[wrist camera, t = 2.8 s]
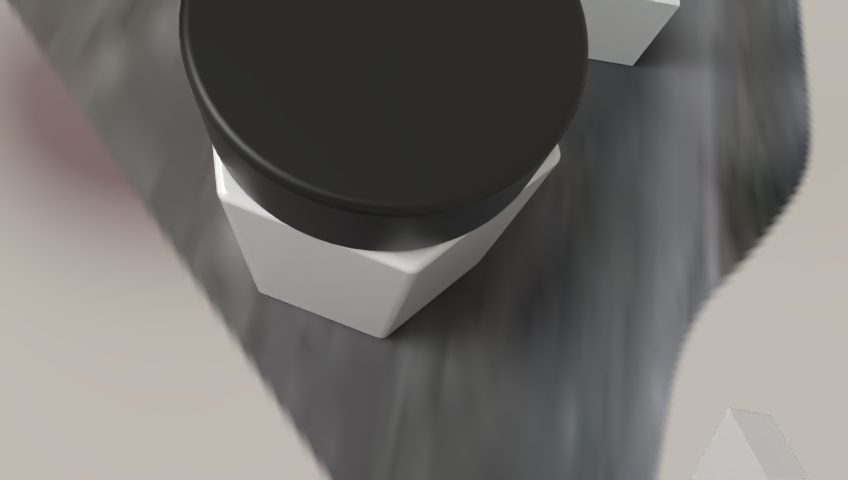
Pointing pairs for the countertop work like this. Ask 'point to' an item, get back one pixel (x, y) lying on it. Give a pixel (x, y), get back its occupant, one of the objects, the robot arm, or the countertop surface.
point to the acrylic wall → (624, 27)
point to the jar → (379, 137)
